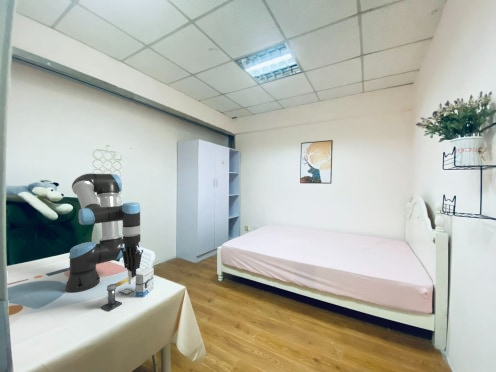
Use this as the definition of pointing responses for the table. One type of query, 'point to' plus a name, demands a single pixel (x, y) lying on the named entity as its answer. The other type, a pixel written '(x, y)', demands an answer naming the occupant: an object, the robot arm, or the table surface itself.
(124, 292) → the label tile
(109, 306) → the grey square fixture
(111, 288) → the swing arm
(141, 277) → the ink box
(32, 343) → the table surface
